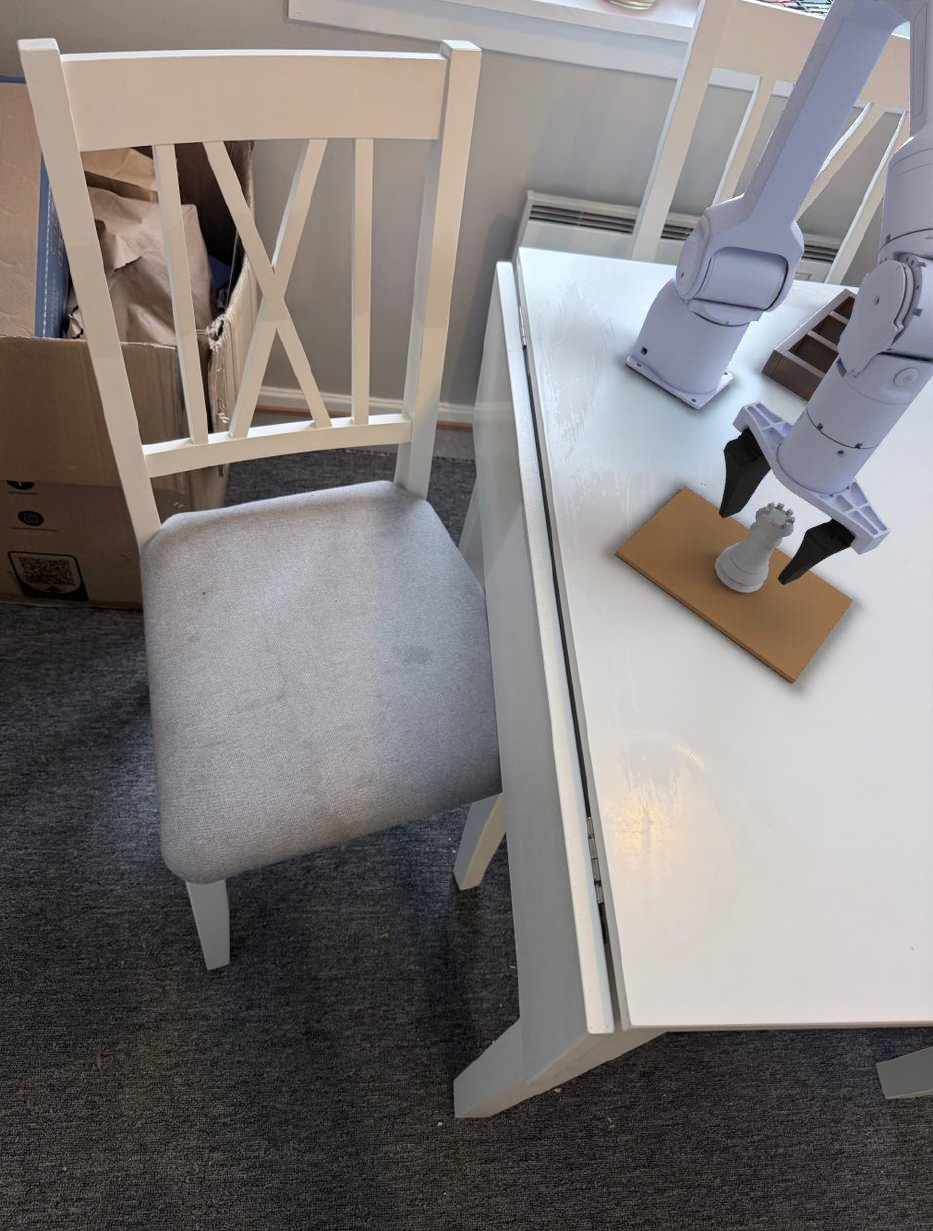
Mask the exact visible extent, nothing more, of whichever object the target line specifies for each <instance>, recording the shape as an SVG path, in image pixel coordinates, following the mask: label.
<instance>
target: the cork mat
mask: <svg viewBox="0 0 933 1231" xmlns="http://www.w3.org/2000/svg"><path fill="white" fill-rule="evenodd" d="M719 510H720V507H718V506H716V505H714V503H711V502H710V501H709V500H707V499H705V498H704V497H703V496H701V495H700V494H698V493H696V492H695V491H694V490H693V489H691V488H689V487H688V486H686V485H685V486H684V487H683V488H682V489H681V490H679V492H677V494H675V496H673V498H671V499H670V500H669V501H668V502H667V503H666V504H665V505H664V506H663V507H662V508H661V509H659V511H658V512H656V513H655V515H653V516H652V517H651V518H650V519H649V520H648V521H647V522H646V523H645V524H644V525H643V526H642V527H640V529H638V530H637V532H635V533H634V534H633V535H632V536H631V537H630V538H629V539H628V540H627V541H626V542H625V543H624V544H622V546H620V548H619V549H617V551H616V552H615V556H617V557H618V558H619V559H621V560H622V561H624V562H625V563H627V565H629V566H631V567H632V568H633V569H635V570H636V571H637V572H639V573H640V574H641V575H642V576H644V577H645V578H647V579H648V580H650V581H652V583H653V584H655V585H657V586H658V587H659V588H661V589H662V590H663V591H665V592H666V593H668V594H669V595H671V596H672V597H673V598H675V599H676V600H677V601H679V602H680V603H681V604H683V605H684V606H685V607H687V608H688V609H690V610H691V611H692V612H694V613H695V614H697V615H698V616H699V617H700V618H702V619H703V620H704V621H706V622H708V624H710V625H711V626H713V627H714V628H716V629H717V630H718V631H720V632H721V633H723V634H724V635H725V636H726V637H727V638H729V639H731V640H732V641H734V642H735V643H736V644H737V645H738V646H740V647H741V648H742V649H745V650H746V651H747V652H749V653H750V654H751V655H752V656H754V657H756V659H758V660H760V661H761V662H762V663H763V664H765V665H766V666H767V667H769V668H771V669H772V671H773V670H774V671H775V672H776V673H777V674H779V675H780V676H782V677H783V678H785V679H786V680H787V681H789V682H790V683H791V684H794V683H795V682H796V681H797V679H799V676H800V675H801V674H802V673H803V671H804V670H805V668H807V665H808V664H810V662H811V660H812V658H813V657H814V656H815V654H816V653H817V652H818V650H819V649H820V647H821V646H822V644H823V643H824V642H825V640H826V639H827V637H828V636H829V635H830V633H831V632H832V631H833V629H834V628H835V626H836V625H837V624H838V622H839V621H840V619H841V618H842V617H843V615H844V614H845V612H846V611H847V609H848V608H849V607H850V605H851V604H852V602H853V601H854V600H853V599H852V598H851V597H850V596H848V595H846V594H845V593H844V592H842V591H841V590H839V589H837V588H836V587H834V586H833V585H832V584H831V583H829V582H827V581H826V580H824V579H823V578H822V577H820V576H818V575H817V574H816V573H814V572H812V571H811V569H809V570H808V571H807V572H806V573H804V574H803V575H802V576H801V577H800V578H799V579H797V580H794V581H792V582H790V583H788V584H785V585H782V584H781V583H780V582H779V580H778V577H779V575H780V573H781V572H782V571H783V569H784V568H785V567H786V566H787V565H788V563H789V562H790V561H791V560H792V559H793V557H791V556H789V555H788V554H786V553H785V552H783V551H782V550H780V548H778V547H777V546H776V547H775V548H774V550H773V552H772V554H771V556H770V558H769V560H768V561H769V565H768V567H769V570H768V575H767V578H766V579H765V581H764V582H763V585H762V586H761V587H760V588H759V589H758V590H756V591H753V592H750V593H742V592H736V591H734V590H731V589H729V588H728V587H726V586H725V585H724V584H723V583H722V582H721V581H720V579H719V578H718V576H717V572H716V569H715V563H716V559H717V558H718V557H719V556H720V555H721V553H722V552H723V551H724V550H725V549H726V548H727V547H729V546H732V545H734V544H736V543H739V542H741V541H742V540H743V539H744V538H745V537H746V536H747V535H748V533H749V532H750V528H748V527H747V526H746V525H744V524H742V523H741V522H739V521H738V520H736V519H735V518H733V517H732V516H729V517H726V518H722V517H721V516H720V515H719Z"/></svg>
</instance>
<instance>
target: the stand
mask: <svg viewBox="0 0 933 1231" xmlns="http://www.w3.org/2000/svg"><path fill="white" fill-rule="evenodd" d="M856 296H857V293H855V292H852V291H851V290H849V289H847V288H846V287H844V288H843V289H842V290H841V291H840V292H838V293H837V294H836V295H835V296H834V297H833V298H832V299H830V300H829V301H828V302H827V303H825V305H824V306H822V307H821V308H820V309H818V311H816V312H815V313H814V314H813V315H812V316H811V317H809V319H807V320H806V321H805V322H804V323H803V324H801V325H800V326H799V327H798V328H797V329H796V330H795V331H794V332H793V333H791V334H790V335H789V336H788V337H787V338H786V339H784V340H783V341H782V342H781V343H779V345H777V346H776V347H775V348H774V349H773V350H772V352H771V354H770V356H769V357H768V359H767V361H766V362H765V365H764V366H763V368H762V370H761V373H762V374H764V375H765V376H767V377H769V378H770V379H772V380H774V381H776V382H777V383H778V384H780V385H782V386H783V387H785V388H786V389H788V390H790V391H792V392H793V393H795V394H797V395H798V396H800V397H801V398H803V399H805V400H806V401H807V402H808V401H809V400H810V398H811V397H812V395H813V394H814V392H815V391H816V389H817V388H818V386H819V384H820V383H821V381H822V380H823V378H824V377H825V375H826V374H827V372H828V370H829V369H830V367H831V366H832V364H833V363H834V361H835V360H836V358H837V357H838V355H839V351H838V349H837V346H838V343H839V342H840V336H841V334H842V333H843V331H844V330H845V328H846V326H847V325H848V323H849V320H850V318H851V315H852V311H853V306H854V302H855V299H856Z"/></svg>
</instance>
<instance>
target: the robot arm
mask: <svg viewBox="0 0 933 1231" xmlns="http://www.w3.org/2000/svg"><path fill="white" fill-rule="evenodd" d="M908 22H909V111H908V112H909V117H908V118H909V122H908V123H909V126H908V127H909V128H908V130H909V131H908V135H909V136H908V139H907V141H905V143H903V144H902V145H901V146H900V147H899V148H898V149H897V150H896V151H895V152H894V153H892V156H891V157H890V158H889V160H888V162H887V165H886V176H885V183H884V193H883V195H884V196H883V202H882V212H881V214H882V215H881V224H880V234H879V235H880V236H879V245H878V254H877V255H878V256H877V266H876V267H875V268H874V269H873V270H872V271H871V272H867V273H866V274H865V276H864V278H863V279H862V280H861V281H862V282H861V283H860V286H859V288H858V291H857V293H856V294H857V296H856V299H855V302H854V306H853V311H852V315H851V318H850V320H849V323H848V325H847V326H846V328H845V330H844V331H843V333H842V334H841V336H840V342H839V343H838V346H837V349H838V351H839V355H838V357H837V358H836V360H835V361H834V363H833V364H832V366H831V367H830V369H829V370H828V372H827V374H826V375H825V377H824V378H823V380H822V381H821V383H820V384H819V386H818V388H817V389H816V391H815V392H814V394H813V395H812V397H811V398H810V400H809V401H808V400H807V403H806V405H804V407H803V409H802V411H801V413H800V414H799V415H798V417H797V418H796V420H795V422H794V423H793V424H792V423H791V422H789V421H788V420H786V419H784V418H783V417H781V416H780V415H779V414H776V413H775V412H774V411H772V410H771V409H770V408H768V407H767V406H766V405H765V404H764V403H763V402H762V401H760V400H759V401H756V402H752V403H748V404H746V405H742V406H741V408H740V409H739V412H738V414H737V415H736V417H735V418H734V420H733V422H732V424H731V425H732V426H733V427H734V429H735V430H737V431H738V432H739V433H741V434H739V435H738V436H737V438H734V439H731V440H729V441H727V442H726V445H725V446H724V448H723V450H722V452H723V456H724V463H725V464H724V465H725V481H724V487H723V493H722V498H721V503H720V505H719V509H720V510H719V515H720V516H721V517H722V518H726V517H729V516H730V517H732V516H734V515H737V514H739V513H741V511H742V510H743V509H744V508H745V507H746V505H747V504H748V503H749V501H750V500H751V498H752V497H753V495H754V494H755V492H756V490H757V489H758V487H759V486H760V484H761V482H762V481H763V480H764V479H765V477H766V476H767V475H768V473H769V472H770V471H772V473H773V474H774V476H775V478H776V479H777V480H778V482H779V483H780V484H781V485H782V486H783V487H785V488H786V489H787V490H788V491H790V492H791V493H792V494H795V495H796V496H797V497H799V498H800V499H802V500H803V501H804V502H806V503H808V504H809V505H811V506H813V507H814V508H816V509H818V510H819V511H821V512H822V513H824V514H825V515H827V516H828V517H829V518H830V520H829V521H826V522H822V523H820V524H817V525H814V526H813V527H810V528H807V529H806V531H805V532H804V535H803V538H802V541H801V543H800V545H799V547H798V549H797V550H796V553H795V554H794V556H793V557H792V560H791V561H790V562H789V563H788V565H787V566H786V567H785V568H784V569H783V571H782V572H781V573H780V575H779V577H778V580H779V582H780V583H781V584H782V585H785V584H788V583H790V582H792V581H794V580H797V579H799V578H800V577H801V576H802V575H803V574H804V573H806V572H807V571H808V570H811V569H812V568H814V567H815V566H817V565H818V564H819V563H821V562H822V561H824V560H826V559H828V558H829V557H831V556H833V555H836V554H838V553H840V552H843V551H844V550H847V549H849V548H851V549H852V550H853V551H854V552H855V553H857V555H858V556H861V555H863V554H865V553H869V552H870V551H872V550H874V549H876V548H878V547H879V545H880V544H881V543H882V542H883V541H884V540H885V539H886V537H887V536H888V535H889V534H890V533H891V532H892V530H891V529H890V528H889V527H888V526H887V525H886V524H885V523H884V521H883V520H882V518H880V516H879V515H878V513H877V512H876V510H875V508H874V507H873V504H872V503H871V501H870V500H869V498H868V497H867V495H866V493H865V491H864V490H863V488H862V487H861V484H860V483H859V482H858V480H857V478H856V476H857V474H859V472H860V471H861V469H862V468H863V467H864V465H866V463H867V462H868V460H869V459H870V458H871V457H872V456H873V454H874V453H875V451H876V450H877V449H878V447H879V446H880V445H881V444H882V442H883V441H884V439H885V438H886V437H887V436H888V435H889V433H890V432H891V431H892V429H894V427H895V426H896V424H897V422H899V420H900V419H901V418H902V416H903V415H904V414H905V412H906V411H907V410H908V409H909V407H910V406H911V405H912V403H913V402H914V401H915V399H916V398H917V397H918V395H919V394H920V393H921V392H922V390H923V389H924V388H925V386H926V385H927V384H928V382H929V381H930V380H931V379H932V377H933V0H832V2H831V5H830V6H829V9H828V10H827V13H826V15H825V17H824V19H823V22H822V24H821V26H820V27H819V30H818V32H817V34H816V37H815V39H814V42H813V44H812V46H811V48H810V50H809V51H808V54H807V56H806V59H805V60H804V62H803V65H802V68H800V72H799V74H798V76H797V78H796V80H795V82H794V85H793V87H792V89H791V91H790V93H789V96H788V98H787V100H786V102H785V104H784V106H783V108H782V111H781V113H780V115H779V117H778V120H777V121H776V124H775V126H774V128H773V130H772V132H771V134H770V137H769V139H768V140H767V143H766V145H765V148H764V149H763V152H762V154H761V156H760V159H759V161H758V163H757V165H756V166H755V169H754V171H753V173H752V175H751V178H750V179H749V182H748V184H747V187H746V188H745V191H744V192H743V193H742V194H741V195H738V196H736V197H734V198H730V199H728V200H725V201H723V202H720V203H717V204H714V205H711V206H709V207H707V208H706V209H704V210H703V213H702V215H701V216H700V217H699V219H698V221H697V223H696V225H695V227H694V229H693V230H692V232H691V233H690V234H689V235H688V236H687V238H686V239H685V240H684V242H683V245H682V247H681V249H680V252H679V255H678V259H677V263H676V268H675V276H673V277H672V278H671V279H669V280H668V281H667V282H665V284H664V285H663V286H662V287H661V288H660V290H659V291H658V293H657V294H656V295H655V298H654V300H653V301H652V303H651V304H650V306H649V309H648V311H647V314H646V316H645V319H644V321H643V323H642V326H641V328H640V331H639V333H638V336H637V338H636V340H635V344H634V346H633V349H632V351H631V353H630V355H629V356H628V357H627V358H626V360H625V364H626V365H627V366H628V367H630V368H631V369H633V370H635V371H636V372H638V373H640V375H643V376H644V377H645V378H647V379H649V380H650V381H652V382H653V383H655V384H656V385H658V386H659V387H660V388H662V389H664V390H665V391H666V392H668V393H670V394H672V395H674V396H675V397H677V398H678V399H680V400H681V401H683V402H684V403H686V404H687V405H688V406H690V407H692V408H693V409H695V410H700V409H701V408H702V407H704V406H705V405H706V404H707V403H708V402H709V401H711V400H712V399H713V398H714V397H715V396H716V395H718V394H719V393H720V392H721V391H723V389H725V387H727V386H728V385H729V384H730V383H732V381H733V380H734V375H733V374H732V373H730V372H728V371H727V369H728V367H729V364H730V363H731V361H732V360H733V357H734V355H735V353H736V351H737V349H738V347H739V346H740V344H741V342H742V340H743V339H744V336H745V334H746V332H747V330H748V328H749V326H750V325H751V322H760V319H761V317H762V316H763V314H764V313H772V312H773V311H775V310H776V309H777V308H778V307H779V306H780V305H781V304H782V303H783V302H784V301H785V300H786V298H787V297H788V295H789V293H790V291H791V289H792V287H793V283H794V280H795V278H796V277H795V276H796V273H797V272H796V271H797V269H798V267H799V264H800V262H801V260H802V258H803V256H804V253H805V241H804V236H803V233H802V230H801V228H800V225H798V222H797V221H796V220H795V219H796V217H797V216H798V213H799V212H800V210H801V208H802V206H803V203H804V201H806V198H807V196H808V194H809V192H810V190H811V189H812V187H813V185H814V183H815V181H816V179H817V178H818V175H819V173H820V172H821V169H822V167H823V165H824V164H825V162H826V160H827V158H828V156H829V154H830V153H831V151H832V148H833V146H834V145H835V144H836V141H837V139H838V137H839V135H840V134H841V131H842V130H843V127H844V126H845V124H846V122H847V120H848V118H849V116H850V114H851V113H852V111H853V109H854V107H855V104H856V103H857V101H858V99H859V97H860V95H861V94H862V92H863V89H864V87H865V85H866V84H867V83H868V80H869V78H870V76H871V74H872V72H873V71H874V68H875V67H876V64H877V63H878V61H879V59H880V58H881V55H882V54H883V51H884V49H885V48H886V45H887V44H888V42H889V40H890V38H891V37H892V35H893V33H894V31H895V30H896V29H897V28H898V27H900V26H901V25H904V24H906V23H908Z"/></svg>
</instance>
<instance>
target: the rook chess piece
mask: <svg viewBox="0 0 933 1231" xmlns="http://www.w3.org/2000/svg"><path fill="white" fill-rule="evenodd" d="M775 505H776V506H775ZM784 507H785V504H784V503H781V502H778V503H777V504H775V502H774V501H773V502H769V503H768V504H767V505H766V506H763V507H759V508H758V510H757V511H756V512H755V516H754V519H755V521H753V522H752V523H751V525H750V527H749V530H750V532H749V533H748V535H747V536H746V537H745V538H744V539H743V540H742V541H741V542H739V543H736V544H734V545H732V546H729V547H727V548H726V549H725V550H724V551H723V552H722V553H721V555H720V556H719V557H718V558H717V559H716V563H715V569H716V572H717V576H718V578H719V579H720V581H721V582H722V583H723V584H724V585H725V586H726V587H728V588H729V589H731V590H734V591H736V592H742V593H750V592H753V591H756V590H758V589H759V588H760V587H761V586H762V585H763V582H764V581H765V579H766V578H767V575H768V570H769V567H768V565H769V561H768V560H769V558H770V556H771V554H772V552H773V550H774V548H775V547H776V548H777V547H779V546H780V545H781V544H782V543H783V538H786V537H789V536H791V535H792V534H793V533H794V528H795V525H794V524H795V521H796V517H795V516H793V514H794V511H793V510H792V509H791V508H787V510H785V509H784Z"/></svg>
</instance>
